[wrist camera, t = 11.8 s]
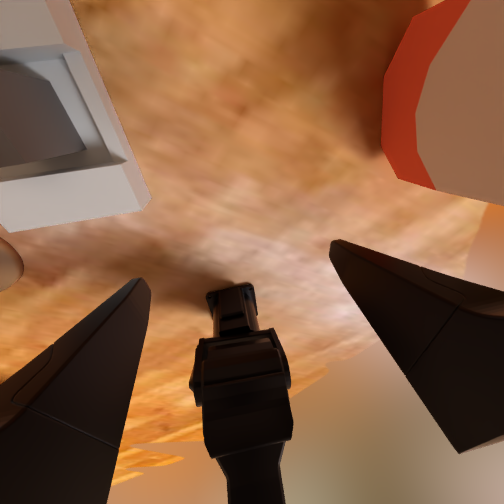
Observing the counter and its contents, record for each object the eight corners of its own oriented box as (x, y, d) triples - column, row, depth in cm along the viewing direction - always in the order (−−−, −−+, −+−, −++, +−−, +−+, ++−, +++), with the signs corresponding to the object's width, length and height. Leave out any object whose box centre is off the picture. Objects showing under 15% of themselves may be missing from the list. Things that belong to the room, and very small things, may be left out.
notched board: (151, 198, 18) (142, 210, 16) (38, 216, 18) (9, 232, 15) (57, -28, 11) (10, -74, 8) (-147, -14, 10) (-267, -59, 8)
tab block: (87, 149, 15) (26, 163, 10) (32, 158, 15) (-58, 177, 10) (49, 81, 13) (-53, 56, 8) (-17, 90, 12) (-166, 70, 8)
